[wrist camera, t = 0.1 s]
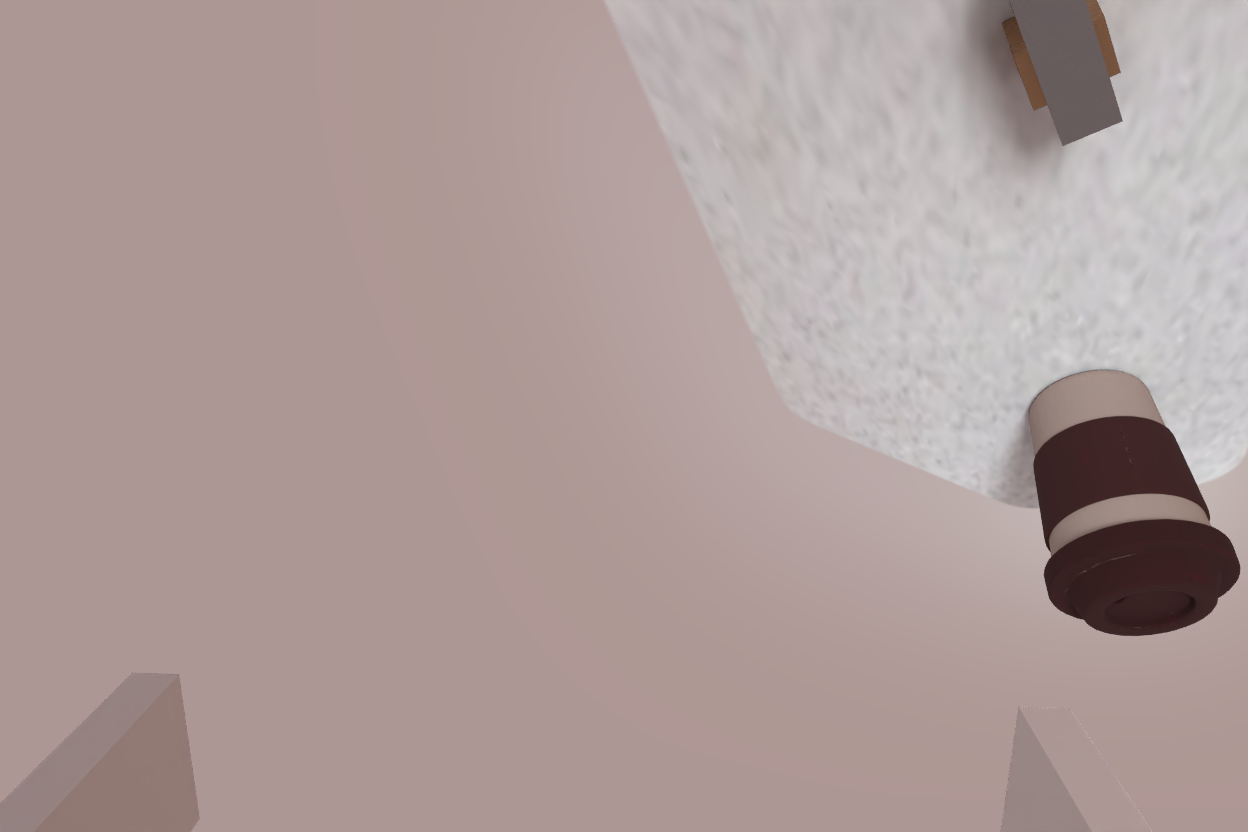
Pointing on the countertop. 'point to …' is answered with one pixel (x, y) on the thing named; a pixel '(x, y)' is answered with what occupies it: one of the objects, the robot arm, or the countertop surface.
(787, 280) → the countertop surface
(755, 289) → the countertop surface
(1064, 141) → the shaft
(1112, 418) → the coffee cup
